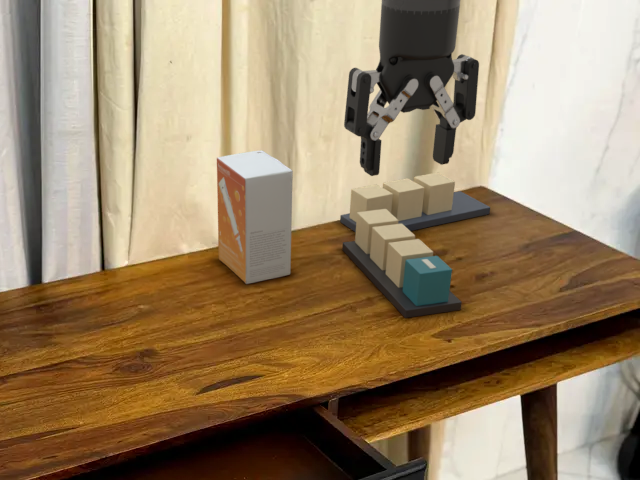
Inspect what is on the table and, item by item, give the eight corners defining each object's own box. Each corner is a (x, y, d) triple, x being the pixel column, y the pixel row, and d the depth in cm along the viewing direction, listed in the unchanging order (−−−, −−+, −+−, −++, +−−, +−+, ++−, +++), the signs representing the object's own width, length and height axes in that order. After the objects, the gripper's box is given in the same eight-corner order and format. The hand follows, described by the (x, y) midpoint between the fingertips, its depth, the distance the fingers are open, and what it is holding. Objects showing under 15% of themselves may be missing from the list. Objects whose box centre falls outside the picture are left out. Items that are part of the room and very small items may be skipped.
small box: (217, 260, 124) (215, 156, 116) (262, 251, 127) (263, 148, 119) (245, 285, 119) (244, 177, 111) (291, 275, 121) (294, 169, 113)
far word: (459, 197, 141) (463, 162, 138) (489, 214, 137) (495, 178, 133) (339, 222, 134) (341, 185, 131) (367, 240, 129) (370, 203, 126)
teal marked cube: (433, 287, 116) (437, 254, 114) (448, 301, 113) (452, 268, 111) (402, 291, 115) (405, 258, 113) (416, 306, 112) (420, 272, 110)
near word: (342, 249, 127) (344, 211, 124) (392, 243, 129) (395, 205, 126) (405, 318, 112) (409, 277, 109) (461, 310, 114) (466, 269, 111)
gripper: (375, 14, 90) (364, 189, 100) (505, -1, 94) (482, 169, 104) (337, -2, 95) (330, 166, 105) (462, -15, 100) (444, 148, 110)
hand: (406, 167), depth 105 cm, fingers open, 8 cm apart
